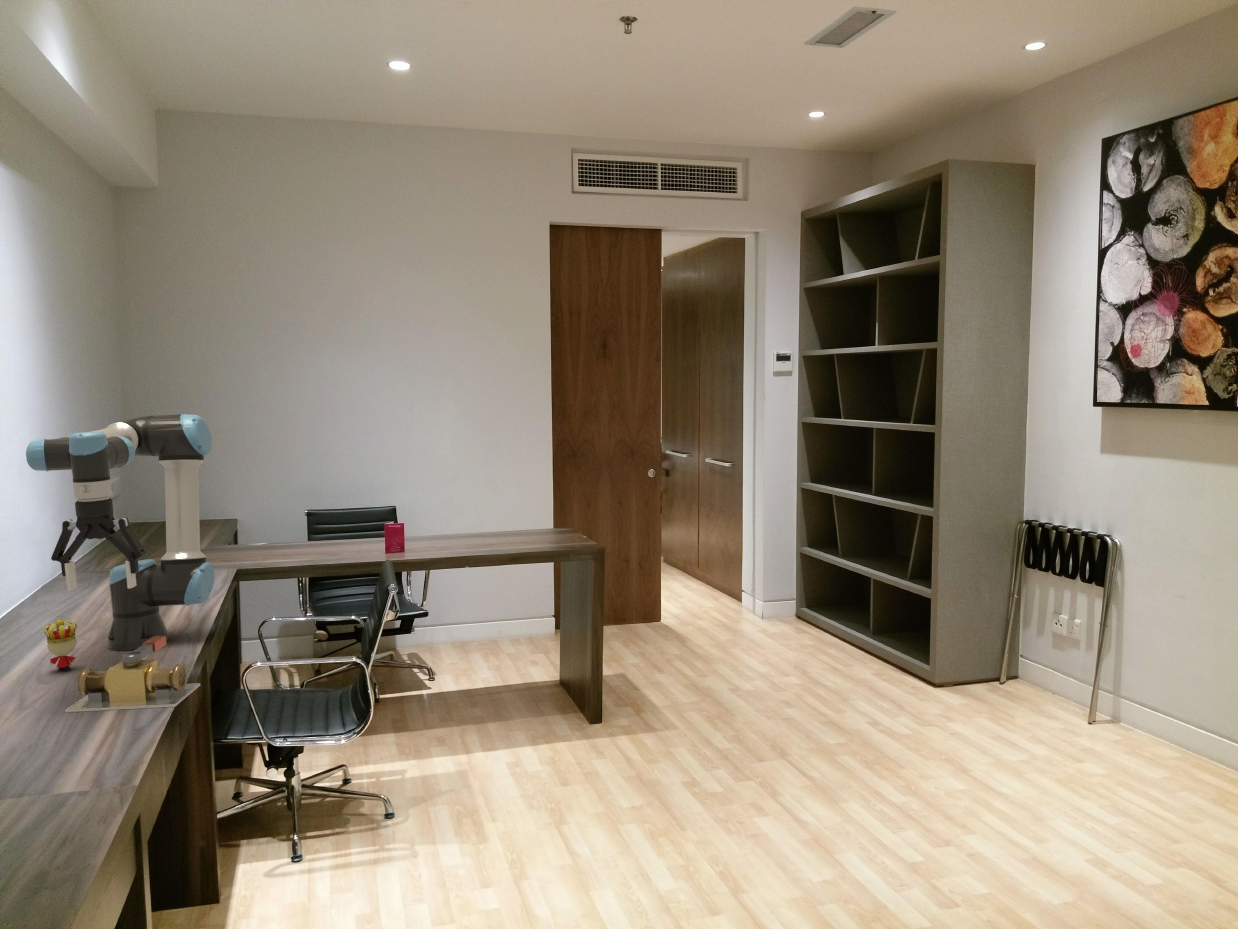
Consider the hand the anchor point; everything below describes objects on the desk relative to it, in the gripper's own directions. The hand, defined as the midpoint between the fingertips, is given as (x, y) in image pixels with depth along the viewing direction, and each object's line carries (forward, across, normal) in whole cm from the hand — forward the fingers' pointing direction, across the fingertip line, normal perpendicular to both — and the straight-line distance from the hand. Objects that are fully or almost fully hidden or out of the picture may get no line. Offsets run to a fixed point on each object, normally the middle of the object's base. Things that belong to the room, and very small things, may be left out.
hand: (102, 588), depth 206 cm
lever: (+17, +7, +2) cm, 19 cm away
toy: (+26, -22, +19) cm, 39 cm away
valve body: (+25, +7, -4) cm, 27 cm away
